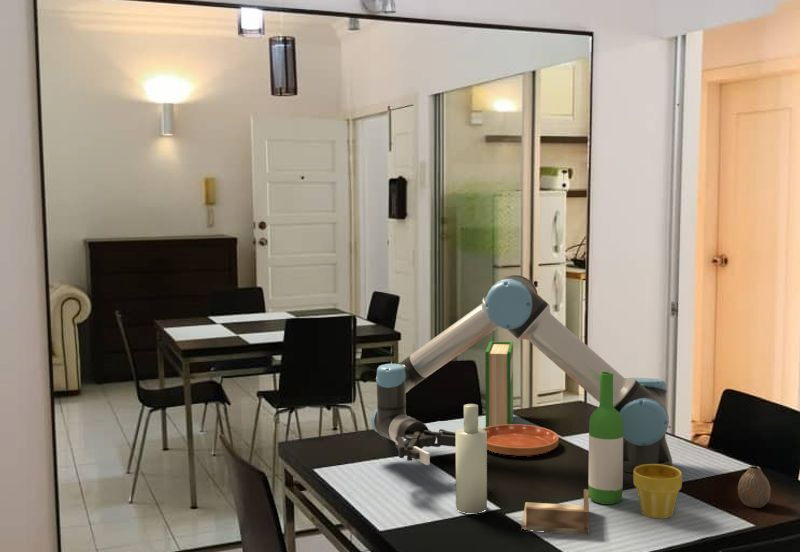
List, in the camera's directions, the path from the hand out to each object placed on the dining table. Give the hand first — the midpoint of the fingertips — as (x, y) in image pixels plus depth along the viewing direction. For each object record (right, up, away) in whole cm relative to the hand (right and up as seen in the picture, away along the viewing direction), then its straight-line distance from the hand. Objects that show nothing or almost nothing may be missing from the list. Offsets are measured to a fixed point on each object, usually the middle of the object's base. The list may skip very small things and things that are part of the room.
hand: (453, 454), depth 206 cm
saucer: (+21, -7, +43) cm, 48 cm away
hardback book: (+18, -4, +67) cm, 70 cm away
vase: (+68, -11, -5) cm, 69 cm away
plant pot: (+45, -11, -9) cm, 47 cm away
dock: (+22, -12, -12) cm, 28 cm away
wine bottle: (+35, -11, 0) cm, 37 cm away
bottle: (+4, -11, -5) cm, 13 cm away
